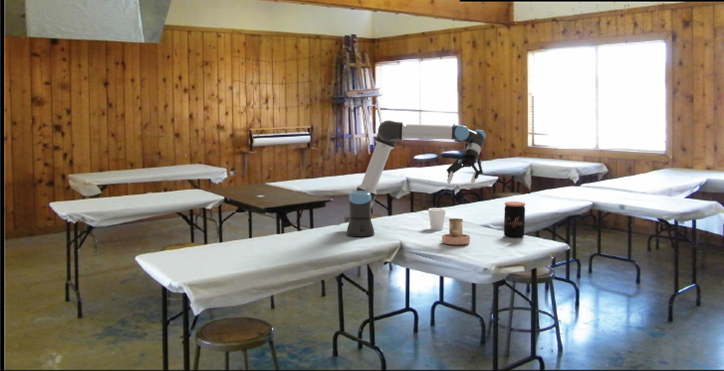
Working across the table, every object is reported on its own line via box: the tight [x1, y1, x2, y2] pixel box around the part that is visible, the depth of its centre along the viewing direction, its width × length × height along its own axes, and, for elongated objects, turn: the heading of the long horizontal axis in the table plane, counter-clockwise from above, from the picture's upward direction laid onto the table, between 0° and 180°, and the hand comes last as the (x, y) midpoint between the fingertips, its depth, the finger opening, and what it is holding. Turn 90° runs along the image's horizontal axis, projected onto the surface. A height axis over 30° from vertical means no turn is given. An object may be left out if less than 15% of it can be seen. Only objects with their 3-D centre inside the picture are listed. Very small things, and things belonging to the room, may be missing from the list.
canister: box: [448, 217, 464, 237], centre depth 338 cm, size 7×7×11 cm
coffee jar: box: [503, 201, 526, 239], centre depth 358 cm, size 11×11×18 cm
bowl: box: [441, 233, 471, 246], centre depth 339 cm, size 14×14×4 cm
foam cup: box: [428, 207, 447, 231], centre depth 379 cm, size 10×9×13 cm
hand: (460, 182), depth 353 cm, fingers open, 13 cm apart
